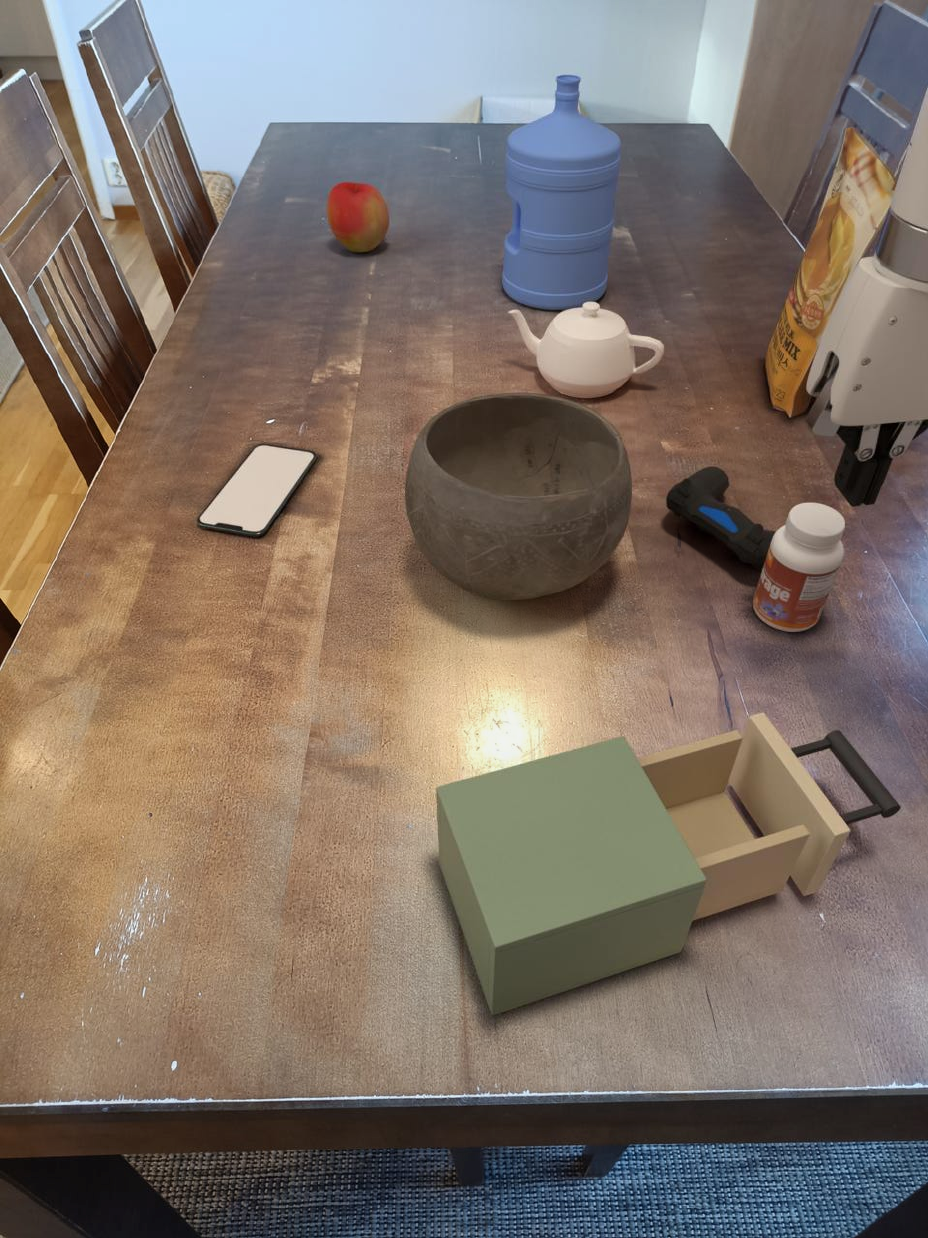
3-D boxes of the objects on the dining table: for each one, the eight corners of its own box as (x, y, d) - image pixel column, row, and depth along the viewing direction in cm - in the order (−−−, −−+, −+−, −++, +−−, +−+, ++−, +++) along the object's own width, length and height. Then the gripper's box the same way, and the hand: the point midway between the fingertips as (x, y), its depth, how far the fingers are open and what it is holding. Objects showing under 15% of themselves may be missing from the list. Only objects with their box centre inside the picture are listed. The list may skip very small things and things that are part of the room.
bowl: (550, 484, 99) (560, 359, 89) (662, 597, 86) (689, 467, 75) (376, 539, 92) (364, 411, 82) (469, 672, 79) (469, 539, 69)
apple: (334, 263, 142) (327, 197, 135) (328, 240, 149) (321, 176, 142) (394, 258, 143) (390, 192, 136) (386, 235, 150) (382, 172, 143)
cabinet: (609, 813, 69) (624, 735, 62) (681, 952, 61) (707, 879, 54) (439, 863, 66) (435, 786, 59) (491, 1016, 58) (494, 947, 51)
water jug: (622, 281, 137) (648, 71, 117) (577, 322, 127) (597, 101, 108) (532, 260, 143) (542, 57, 123) (482, 297, 133) (485, 83, 113)
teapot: (491, 389, 114) (492, 312, 107) (520, 345, 122) (523, 271, 115) (646, 417, 109) (659, 339, 102) (666, 370, 117) (679, 294, 110)
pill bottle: (739, 595, 86) (766, 502, 78) (797, 584, 87) (830, 491, 79) (771, 640, 82) (802, 546, 74) (831, 628, 83) (869, 534, 75)
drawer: (809, 756, 71) (837, 691, 66) (893, 867, 64) (932, 804, 59) (593, 819, 67) (604, 755, 62) (657, 945, 60) (676, 886, 55)
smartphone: (257, 446, 105) (193, 527, 94) (257, 442, 105) (192, 523, 93) (320, 455, 103) (262, 539, 92) (320, 451, 103) (261, 535, 92)
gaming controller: (688, 508, 100) (639, 498, 93) (715, 462, 98) (666, 448, 90) (810, 589, 90) (766, 585, 83) (843, 540, 88) (800, 532, 81)
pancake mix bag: (810, 351, 121) (877, 122, 101) (828, 428, 107) (908, 180, 88) (759, 348, 121) (815, 119, 102) (770, 423, 108) (837, 176, 88)
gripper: (1022, 214, 57) (920, 456, 70) (801, 229, 55) (738, 475, 68) (1100, 263, 52) (974, 515, 65) (858, 281, 50) (778, 536, 63)
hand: (853, 494), depth 66 cm, fingers closed
